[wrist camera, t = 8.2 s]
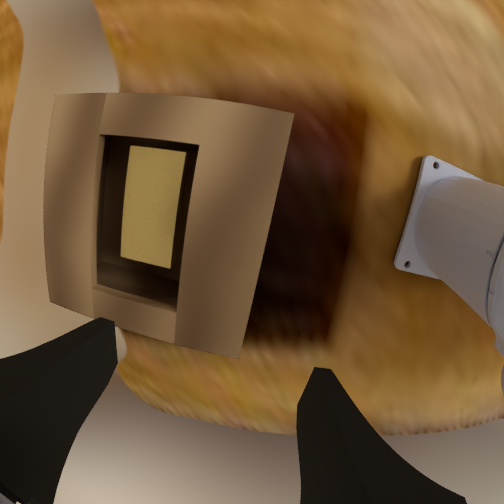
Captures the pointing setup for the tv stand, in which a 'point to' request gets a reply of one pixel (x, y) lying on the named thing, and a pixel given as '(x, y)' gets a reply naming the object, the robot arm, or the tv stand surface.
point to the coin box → (198, 222)
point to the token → (157, 203)
